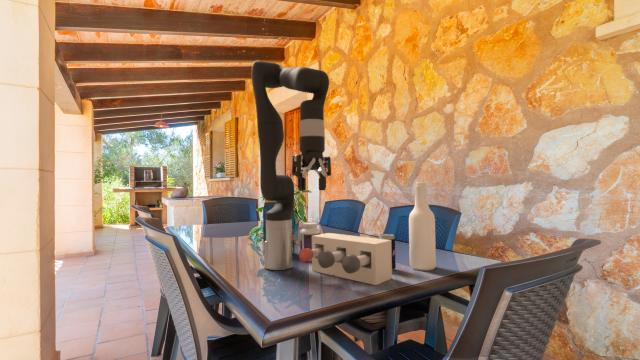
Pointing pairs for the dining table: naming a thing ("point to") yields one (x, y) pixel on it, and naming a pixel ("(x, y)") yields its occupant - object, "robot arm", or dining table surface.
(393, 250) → the beverage can
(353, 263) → the knob
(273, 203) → the dark thin upright pieces
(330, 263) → the knob
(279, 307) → the dining table surface
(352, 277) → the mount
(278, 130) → the robot arm
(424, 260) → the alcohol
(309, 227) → the pill bottle
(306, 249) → the red knob
